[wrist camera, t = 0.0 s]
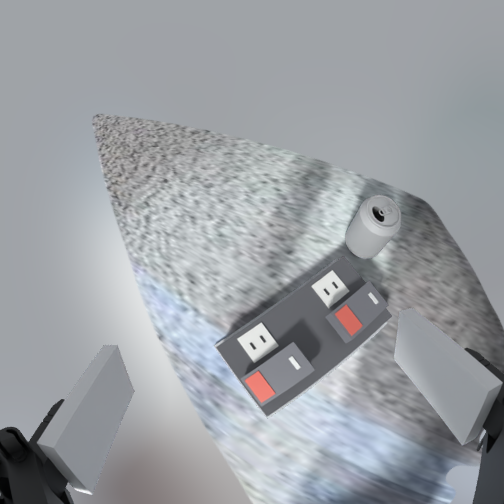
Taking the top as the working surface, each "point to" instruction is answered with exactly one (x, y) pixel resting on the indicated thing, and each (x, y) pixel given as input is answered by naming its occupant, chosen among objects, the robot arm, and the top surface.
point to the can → (373, 226)
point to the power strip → (300, 331)
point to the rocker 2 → (357, 312)
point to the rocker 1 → (278, 374)
